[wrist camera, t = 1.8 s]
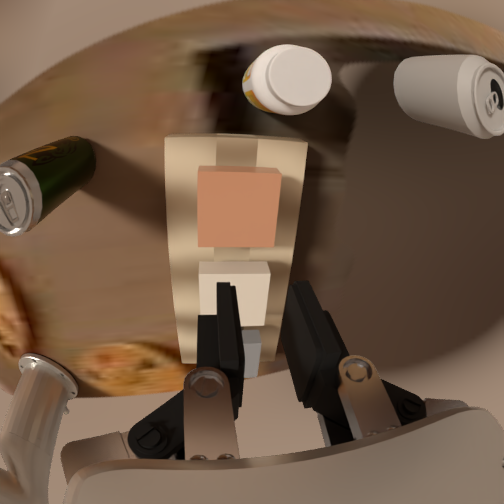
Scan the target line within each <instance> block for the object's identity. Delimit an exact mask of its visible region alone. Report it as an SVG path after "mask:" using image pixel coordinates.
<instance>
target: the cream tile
mask: <svg viewBox="0 0 504 504" xmlns="http://www.w3.org/2000/svg"><path fill="white" fill-rule="evenodd" d="M270 275H271V273H270V270H269V267H268V264H267V261H217V262H205V261H199V296H200V315H217V304H216V283H217V282H230V285H231V286H236V293H237V300H238V308H239V316H240V323H241V326H264V322H265V314H266V307H267V299H268V291H269V283H270Z"/></svg>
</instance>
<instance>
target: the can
mask: <svg viewBox="0 0 504 504" xmlns="http://www.w3.org/2000/svg"><path fill="white" fill-rule="evenodd" d="M393 84H394V91H395V96H396V98H397V101H398V103H399V105H400V107H401V108H402V110H403V111H404V112H405V113H406V114H407V115H408V116H409V117H410V118H412V119H414V120H417V121H419V122H423V123H428V124H432V125H436V126H440V127H444V128H448V129H451V130H455V131H458V132H462V133H465V134H468V135H471V136H475V137H478V138H481V139H489V138H491V137H492V136H497V135H498V136H500V135H501V134H503V133H504V74H503V72H502V71H501V69H499V68H498V67H497V66H496V65H494V64H491V63H489V62H488V61H487V60H486V59H484V58H483V57H480V56H477V55H435V56H419V57H411V58H408V59H405V60H403V61H402V62H401V63H400V64H399V65H398V67H397V69H396V72H395V75H394V83H393Z"/></svg>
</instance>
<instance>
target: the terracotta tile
mask: <svg viewBox="0 0 504 504" xmlns="http://www.w3.org/2000/svg"><path fill="white" fill-rule="evenodd" d="M281 178H282V173H281V172H280V171H279V170H278V169H277V168H270V167H249V166H199V168H198V179H197V224H198V247H274V241H275V233H276V224H277V215H278V206H279V197H280V188H281Z"/></svg>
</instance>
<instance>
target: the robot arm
mask: <svg viewBox="0 0 504 504" xmlns="http://www.w3.org/2000/svg"><path fill="white" fill-rule="evenodd" d="M216 304H217V315H198V324H197V368H196V369H194V370H192V371H191V372H189V373H188V374H187V376H186V377H185V380H184V389H183V390H182V391H180V392H179V393H178V394H177V395H175V396H174V397H173V398H171V399H170V400H168V401H167V402H166V403H164V404H163V405H162V406H160V407H159V408H158V409H156V410H155V411H153V412H152V413H151V414H149V415H148V416H146V417H145V418H144V419H142V420H141V421H139V422H138V423H136V424H135V425H134V426H133V427H132V428H131V429H130V431H127V432H124V433H120V432H119V431H118V432H114V433H109V434H105V435H101V436H96V437H92V438H87V439H82V440H77V441H72V442H69V443H67V444H66V445H65V446H64V447H63V448H62V451H61V462H62V466H63V470H64V474H65V478H66V482H67V485H68V486H67V489H66V492H65V496H64V501H63V504H504V430H503V428H502V427H501V425H500V424H499V422H498V421H497V419H496V418H495V417H494V416H493V415H492V413H490V412H489V411H488V410H486V409H483V408H480V407H469V406H468V405H467V404H466V403H464V402H463V401H460V400H445V399H430V398H425V399H424V400H422V399H421V398H420V397H419V396H417V395H415V394H413V393H411V392H409V391H406V390H404V389H402V388H400V387H398V386H395V385H393V384H391V383H389V382H387V381H384V380H382V379H380V377H379V374H378V372H377V370H376V368H375V366H374V365H373V363H372V362H371V361H369V360H368V359H366V358H364V357H361V356H358V355H351V356H350V355H349V353H348V351H347V349H346V347H345V344H344V342H343V340H342V338H341V336H340V334H339V332H338V330H337V328H336V326H335V324H334V322H333V319H332V317H331V315H330V314H329V312H328V311H326V310H325V311H323V310H322V308H321V306H320V304H319V302H318V299H317V297H316V295H315V293H314V291H313V289H312V287H311V285H310V283H309V281H294V283H293V285H289V289H288V295H287V301H286V306H285V312H284V318H283V323H282V328H281V340H282V344H283V347H284V351H285V354H286V358H287V362H288V365H289V369H290V373H291V376H292V380H293V384H294V387H295V391H296V395H297V398H298V401H299V402H303V405H304V408H311V407H312V408H313V410H314V411H316V412H317V414H318V420H319V423H320V427H321V431H322V435H323V439H324V442H325V446H326V447H324V448H319V449H315V450H308V451H303V452H296V453H290V454H283V455H275V456H266V457H256V458H243V459H240V456H239V449H238V443H237V436H236V430H235V422H234V421H235V420H236V419H237V418H238V409H239V407H241V406H242V395H243V383H244V372H245V352H244V345H243V338H242V330H241V323H240V316H239V308H238V300H237V293H236V286H231V285H230V282H217V283H216ZM19 368H20V371H21V373H22V376H21V378H20V381H19V383H18V385H17V388H16V390H15V393H14V395H13V398H12V401H11V403H10V406H9V409H8V411H7V414H6V417H5V420H4V423H3V426H2V429H1V432H0V453H1V455H2V458H3V460H4V462H5V465H6V467H7V470H8V471H6V470H3V469H2V468H0V504H48V482H49V474H50V468H51V462H52V457H53V452H54V447H55V443H56V438H57V434H58V430H59V426H60V422H61V419H62V415H63V413H64V414H69V410H68V408H67V407H66V405H67V402H68V400H70V399H73V398H75V397H76V396H77V393H78V385H77V383H76V381H75V380H74V378H73V377H72V376H71V375H70V374H69V373H68V372H67V371H66V370H65V369H64V368H62V367H61V366H60V365H58V364H57V363H55V362H53V361H52V360H50V359H48V358H46V357H43V356H41V355H37V354H31V353H28V354H24V355H22V357H21V358H20V360H19Z"/></svg>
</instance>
